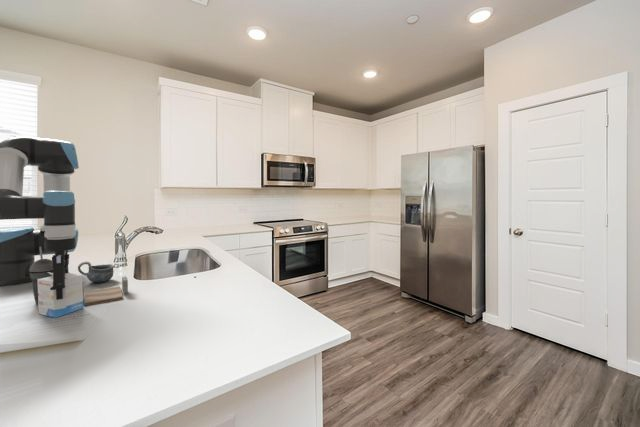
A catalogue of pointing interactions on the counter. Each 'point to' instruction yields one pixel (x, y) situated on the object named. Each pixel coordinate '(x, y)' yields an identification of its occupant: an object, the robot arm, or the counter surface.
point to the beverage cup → (40, 272)
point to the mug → (98, 272)
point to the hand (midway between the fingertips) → (62, 303)
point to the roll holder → (106, 294)
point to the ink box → (72, 295)
